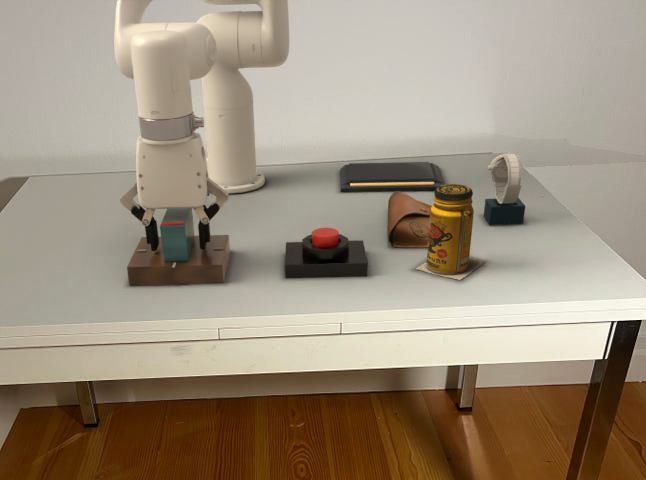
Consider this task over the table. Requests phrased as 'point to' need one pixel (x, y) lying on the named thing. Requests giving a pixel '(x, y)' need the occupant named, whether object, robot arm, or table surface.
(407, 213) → the sunglasses case
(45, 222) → the table surface
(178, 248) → the teal rectangular block
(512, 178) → the watch
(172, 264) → the base
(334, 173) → the table surface
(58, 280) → the table surface
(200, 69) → the robot arm
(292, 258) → the button box
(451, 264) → the condiment
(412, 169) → the wallet
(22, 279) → the table surface
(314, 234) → the button
